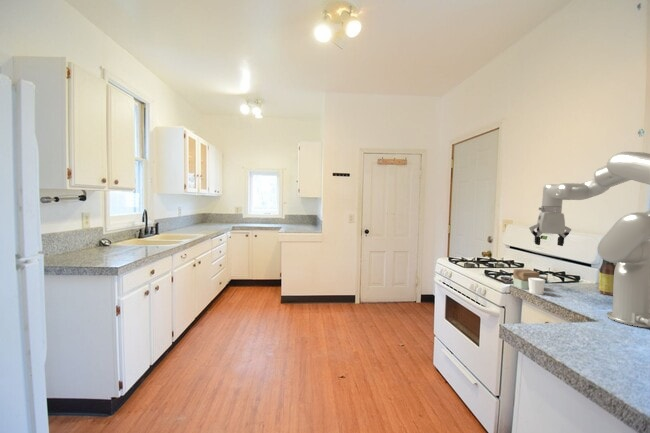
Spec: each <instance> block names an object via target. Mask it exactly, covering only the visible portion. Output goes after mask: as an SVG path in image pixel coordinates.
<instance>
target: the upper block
mask: <svg viewBox="0 0 650 433" xmlns="http://www.w3.org/2000/svg"><path fill="white" fill-rule="evenodd" d="M512 274H513V276H512V277H513V279H514V278H516V279H519V280H522V281H528V278H531V277H532V278H540V272H538V271H536V270H535V271H534V270H531V269H527V268H524V269H523V268H522V269H521V268H519V269H518V268H516V269H515V268H514V269H513V273H512Z"/></svg>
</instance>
